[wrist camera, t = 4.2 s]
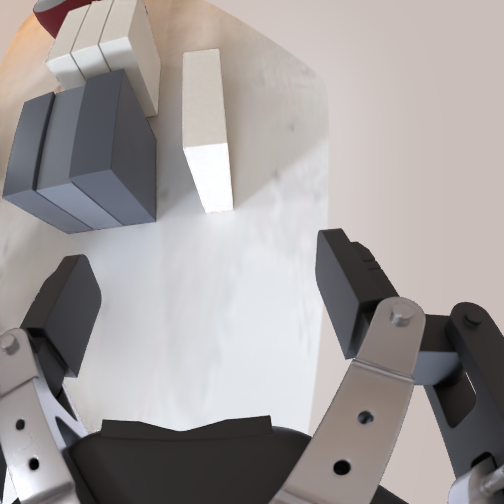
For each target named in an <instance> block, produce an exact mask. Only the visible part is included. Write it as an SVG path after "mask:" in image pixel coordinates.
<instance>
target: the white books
mask: <svg viewBox="0 0 504 504" xmlns="http://www.w3.org/2000/svg"><path fill="white" fill-rule="evenodd" d="M46 64H47V65H48V67H49V68H50V70H51V71H52V73H53V74H54V76H55V77H56V79H57V80H58V81H59V83H60V84H61V86H62V87H63V89H64V90H65V91H66V90H69V89H73V88H76V87H79V86H82V85H85V84H86V80H87V78H89V77H92V76H96V75H99V74H103V73H107V72H111V71H115V70H119V69H124V70H125V72H126V75H127V77H128V79H129V81H130V84H131V86H132V88H133V90H134V93H135V95H136V97H137V99H138V102H139V104H140V106H141V108H142V110H143V113H144V115H145V117H151V116H157V115H158V101H159V86H160V73H161V61H160V58H159V55H158V51H157V48H156V44H155V41H154V37H153V34H152V30H151V27H150V23H149V20H148V16H147V10H146V7H145V5H144V1H143V0H101V1H98V2H95V3H92V4H91V5H90V4H89V5H86V6H83V7H80V8H77V9H74V10H72V11H69V12H68V14H67V16H66V18H65V20H64V22H63V24H62V26H61V28H60V30H59V33H58V35H57V37H56V39H55V41H54V44H53V46H52V48H51V51H50V53H49V55H48V58H47V60H46Z"/></svg>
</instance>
